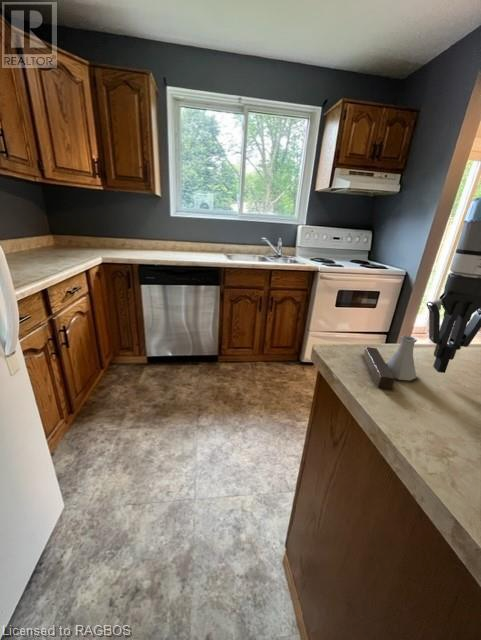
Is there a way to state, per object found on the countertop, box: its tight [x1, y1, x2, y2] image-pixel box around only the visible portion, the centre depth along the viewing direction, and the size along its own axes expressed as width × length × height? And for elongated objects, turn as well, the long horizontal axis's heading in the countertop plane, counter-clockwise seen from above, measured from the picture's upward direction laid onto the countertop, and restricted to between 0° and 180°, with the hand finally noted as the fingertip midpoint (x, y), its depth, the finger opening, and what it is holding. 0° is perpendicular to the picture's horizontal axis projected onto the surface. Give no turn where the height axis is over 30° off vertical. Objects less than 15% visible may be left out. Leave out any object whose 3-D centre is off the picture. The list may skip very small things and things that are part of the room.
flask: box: [385, 335, 418, 381], centre depth 68 cm, size 7×7×10 cm
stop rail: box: [363, 346, 396, 390], centre depth 70 cm, size 3×16×3 cm, turn 168°
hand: (439, 369), depth 67 cm, fingers closed
